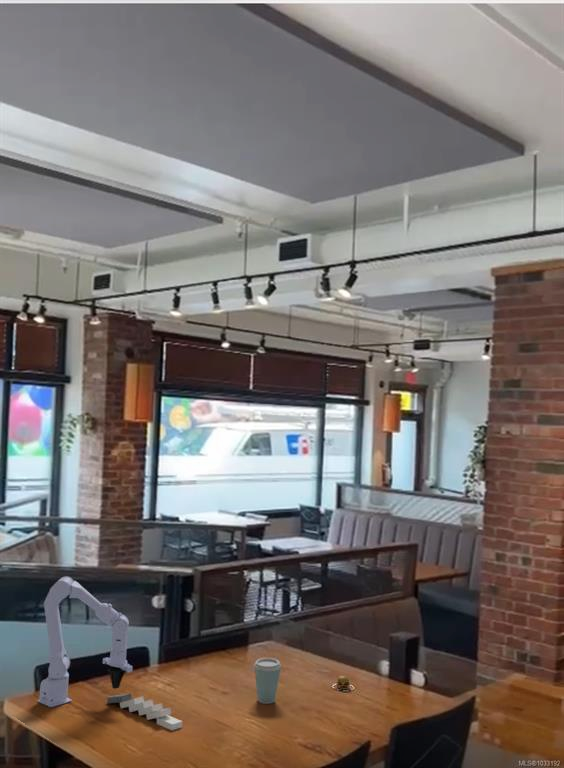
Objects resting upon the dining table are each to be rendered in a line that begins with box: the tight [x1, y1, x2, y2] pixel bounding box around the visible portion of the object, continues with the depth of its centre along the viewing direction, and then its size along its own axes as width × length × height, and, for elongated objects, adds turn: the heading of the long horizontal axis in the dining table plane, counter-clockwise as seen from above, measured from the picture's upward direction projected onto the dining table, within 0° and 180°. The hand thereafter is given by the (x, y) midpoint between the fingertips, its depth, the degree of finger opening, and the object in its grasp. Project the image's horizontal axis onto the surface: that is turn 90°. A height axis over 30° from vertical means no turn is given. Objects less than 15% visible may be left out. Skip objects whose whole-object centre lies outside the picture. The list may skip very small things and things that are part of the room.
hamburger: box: [331, 675, 355, 692], centre depth 313 cm, size 12×12×6 cm
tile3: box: [128, 698, 155, 713], centre depth 271 cm, size 4×2×8 cm
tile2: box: [119, 695, 145, 709], centre depth 275 cm, size 4×2×8 cm
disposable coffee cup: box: [253, 657, 282, 705], centre depth 292 cm, size 11×11×15 cm
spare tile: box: [106, 693, 133, 704], centre depth 279 cm, size 4×2×8 cm
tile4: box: [137, 702, 164, 716], centre depth 268 cm, size 4×2×8 cm
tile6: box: [156, 715, 183, 731], centre depth 262 cm, size 4×2×8 cm
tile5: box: [145, 707, 172, 721], centre depth 265 cm, size 4×2×8 cm
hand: (115, 687), depth 280 cm, fingers closed
